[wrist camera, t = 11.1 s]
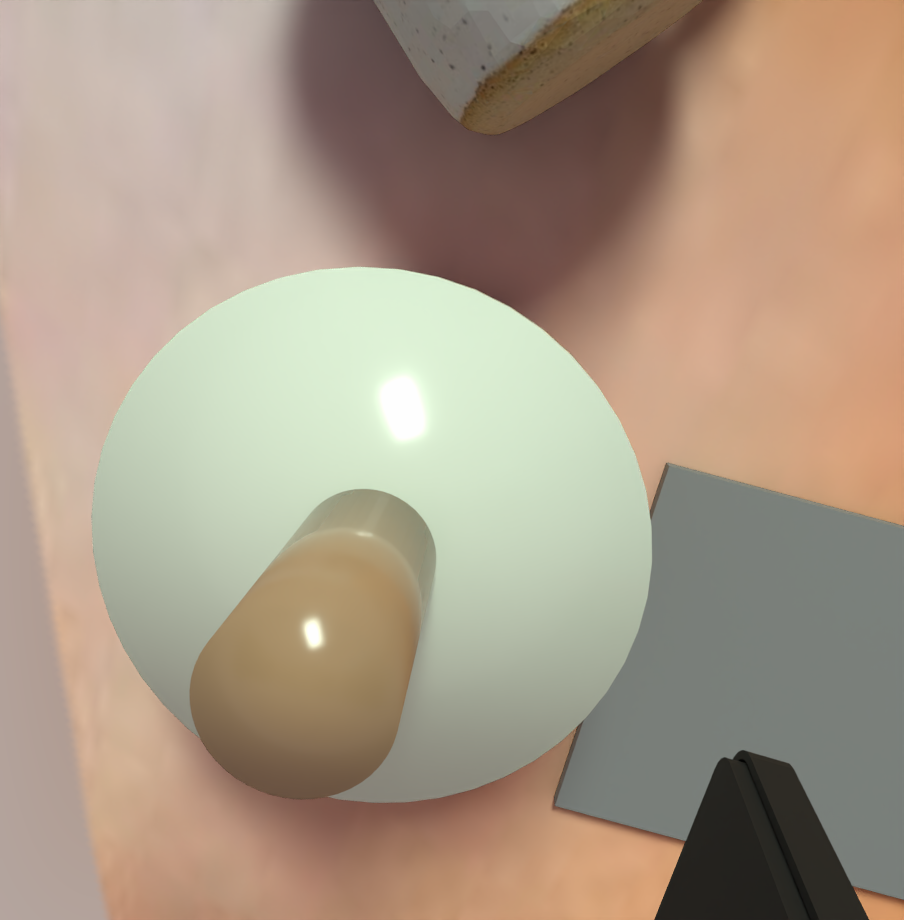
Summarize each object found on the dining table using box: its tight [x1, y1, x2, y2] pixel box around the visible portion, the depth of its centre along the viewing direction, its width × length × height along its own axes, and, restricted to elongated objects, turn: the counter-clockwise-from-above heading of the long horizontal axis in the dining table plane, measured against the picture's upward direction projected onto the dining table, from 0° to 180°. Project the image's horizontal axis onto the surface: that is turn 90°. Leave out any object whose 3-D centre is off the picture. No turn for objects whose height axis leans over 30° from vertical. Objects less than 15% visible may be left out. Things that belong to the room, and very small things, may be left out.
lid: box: [92, 267, 652, 803], centre depth 15 cm, size 12×12×8 cm
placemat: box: [554, 463, 904, 900], centre depth 23 cm, size 12×11×1 cm
